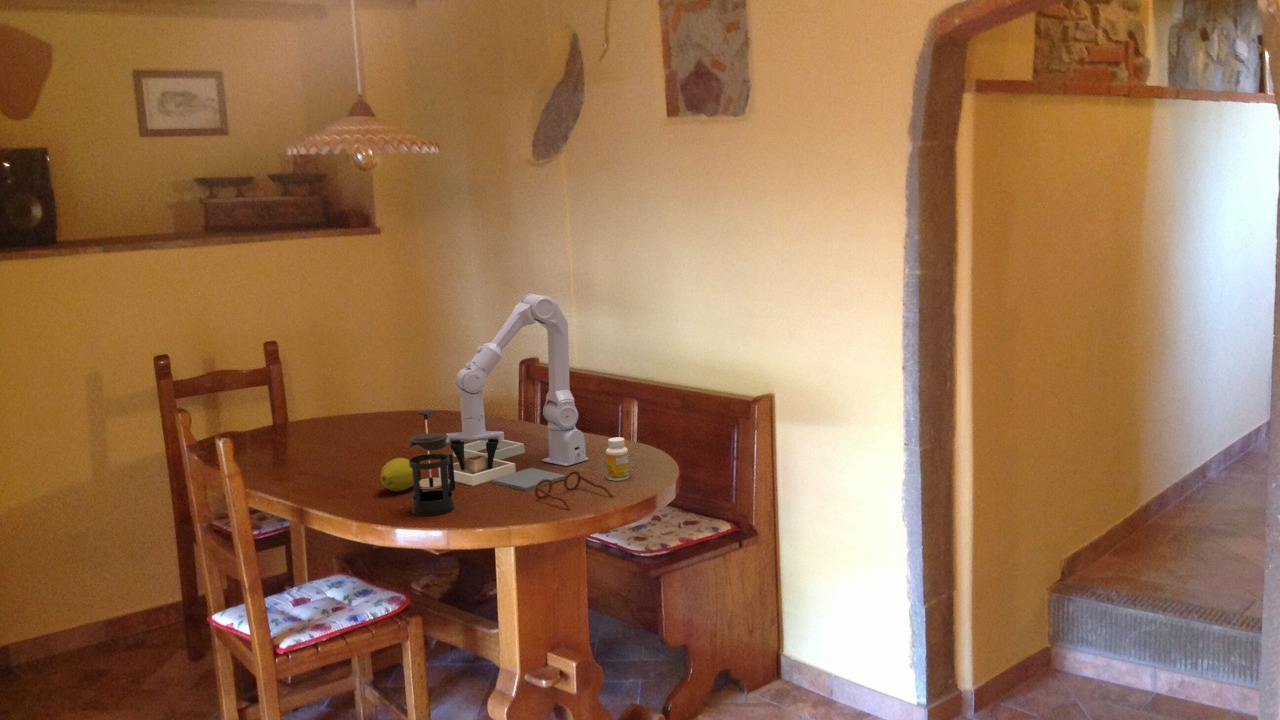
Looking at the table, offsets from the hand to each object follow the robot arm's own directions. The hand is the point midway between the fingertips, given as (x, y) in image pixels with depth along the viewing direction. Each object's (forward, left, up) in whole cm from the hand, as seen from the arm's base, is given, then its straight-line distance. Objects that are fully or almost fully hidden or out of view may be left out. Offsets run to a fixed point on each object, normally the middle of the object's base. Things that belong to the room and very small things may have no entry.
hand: (476, 469), depth 280 cm
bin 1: (+14, -15, -2) cm, 21 cm away
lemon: (+5, +20, -2) cm, 21 cm away
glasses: (-36, 0, -2) cm, 36 cm away
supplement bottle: (-32, -18, -2) cm, 37 cm away
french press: (-15, +24, -2) cm, 28 cm away
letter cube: (0, 0, -2) cm, 2 cm away
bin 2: (0, 0, -2) cm, 2 cm away
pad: (-15, -4, -2) cm, 16 cm away
